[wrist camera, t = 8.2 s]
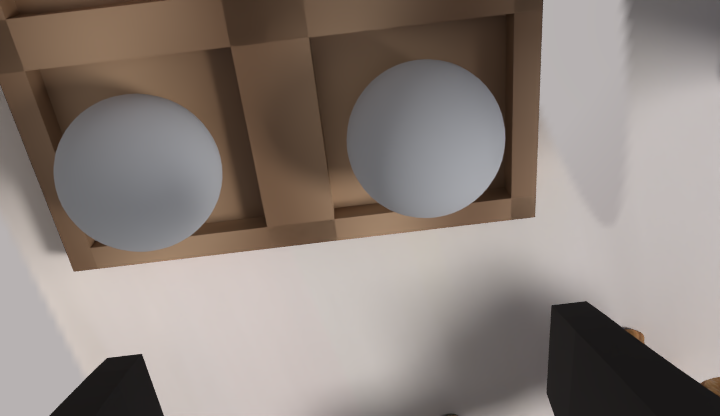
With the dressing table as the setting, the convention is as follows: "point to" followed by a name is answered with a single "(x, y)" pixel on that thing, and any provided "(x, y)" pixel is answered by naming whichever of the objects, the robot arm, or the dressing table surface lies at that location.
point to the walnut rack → (268, 102)
